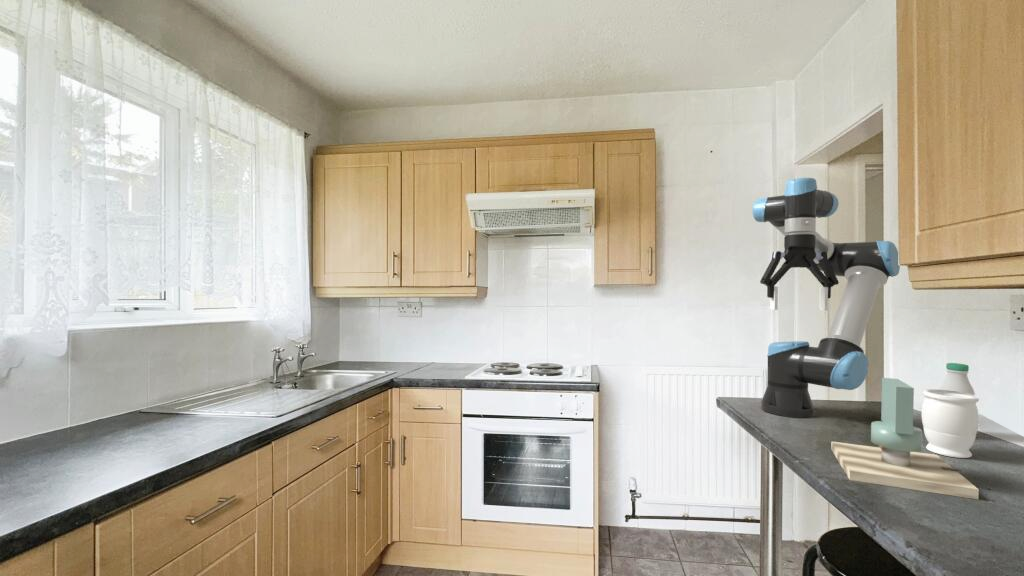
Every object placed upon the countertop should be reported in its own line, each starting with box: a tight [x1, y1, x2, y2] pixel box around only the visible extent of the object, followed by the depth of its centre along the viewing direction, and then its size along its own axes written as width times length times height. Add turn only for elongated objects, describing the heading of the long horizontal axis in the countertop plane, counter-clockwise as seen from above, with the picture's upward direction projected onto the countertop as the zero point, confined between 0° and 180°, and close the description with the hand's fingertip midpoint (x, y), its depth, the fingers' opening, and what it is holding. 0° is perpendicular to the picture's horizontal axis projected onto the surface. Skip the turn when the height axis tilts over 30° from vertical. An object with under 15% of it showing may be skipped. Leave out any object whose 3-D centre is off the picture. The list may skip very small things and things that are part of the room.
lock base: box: [830, 441, 980, 500], centre depth 108 cm, size 22×22×6 cm
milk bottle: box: [938, 362, 976, 396], centre depth 135 cm, size 8×8×20 cm
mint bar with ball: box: [870, 377, 924, 452], centre depth 108 cm, size 9×13×14 cm
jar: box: [920, 388, 980, 459], centre depth 120 cm, size 11×10×15 cm
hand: (798, 310), depth 134 cm, fingers open, 13 cm apart
